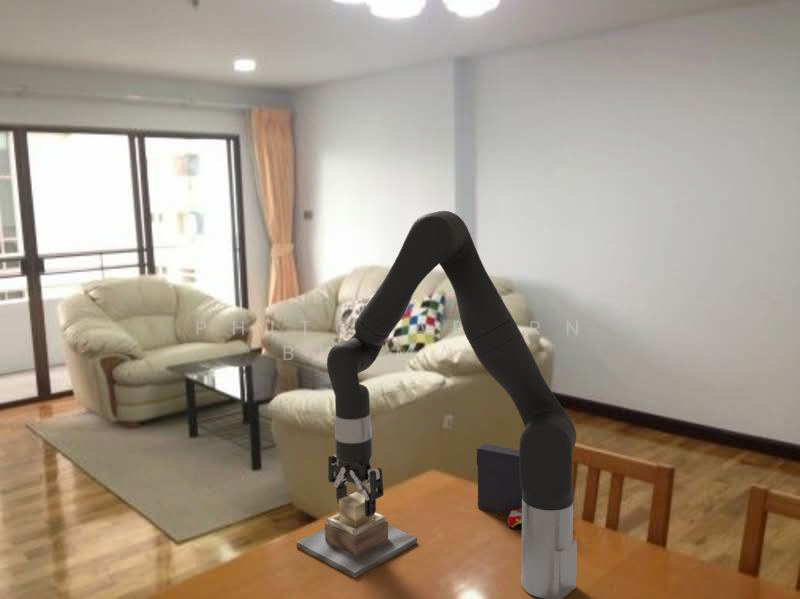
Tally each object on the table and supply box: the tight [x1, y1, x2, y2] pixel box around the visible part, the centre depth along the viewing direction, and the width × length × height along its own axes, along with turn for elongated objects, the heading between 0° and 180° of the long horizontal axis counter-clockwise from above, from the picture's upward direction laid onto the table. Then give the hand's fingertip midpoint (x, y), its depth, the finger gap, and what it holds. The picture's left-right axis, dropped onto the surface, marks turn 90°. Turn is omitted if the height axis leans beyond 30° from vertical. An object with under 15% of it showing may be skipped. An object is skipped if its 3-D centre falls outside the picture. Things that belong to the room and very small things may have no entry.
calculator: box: [476, 443, 522, 516], centre depth 160 cm, size 11×4×15 cm, turn 59°
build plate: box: [296, 512, 418, 579], centre depth 147 cm, size 18×18×6 cm
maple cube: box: [338, 491, 373, 529], centre depth 146 cm, size 5×5×5 cm
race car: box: [506, 508, 522, 532], centre depth 153 cm, size 13×5×4 cm, turn 75°
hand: (355, 509), depth 146 cm, fingers open, 8 cm apart
